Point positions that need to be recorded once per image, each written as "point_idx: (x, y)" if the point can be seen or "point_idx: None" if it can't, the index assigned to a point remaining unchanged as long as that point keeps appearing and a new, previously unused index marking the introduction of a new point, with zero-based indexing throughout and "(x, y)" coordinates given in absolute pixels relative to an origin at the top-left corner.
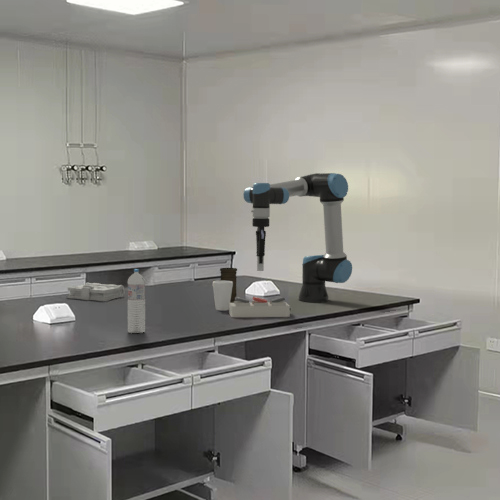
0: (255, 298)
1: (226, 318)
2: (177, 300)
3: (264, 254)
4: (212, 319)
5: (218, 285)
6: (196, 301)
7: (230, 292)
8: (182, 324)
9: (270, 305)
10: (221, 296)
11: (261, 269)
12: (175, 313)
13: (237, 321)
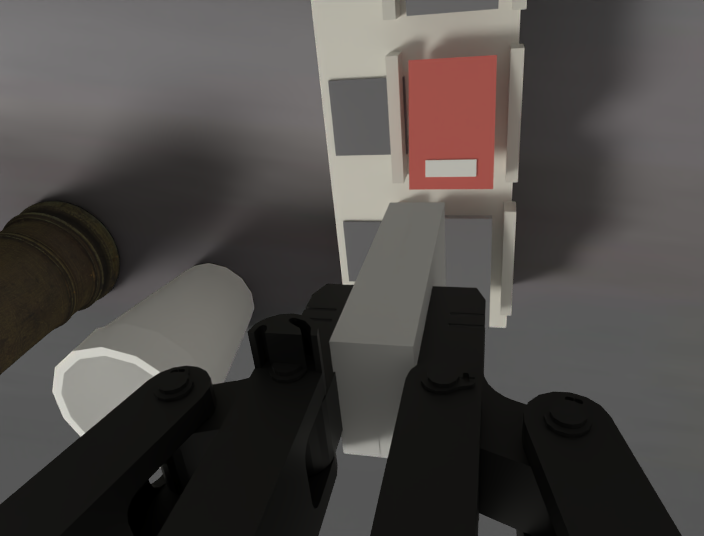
0: (492, 177)
1: (537, 317)
2: (12, 447)
3: (584, 404)
4: (561, 391)
5: None
6: (9, 381)
7: (183, 321)
8: (691, 532)
9: (496, 15)
10: (230, 362)
11: (441, 243)
12: (362, 506)
13: (667, 270)
